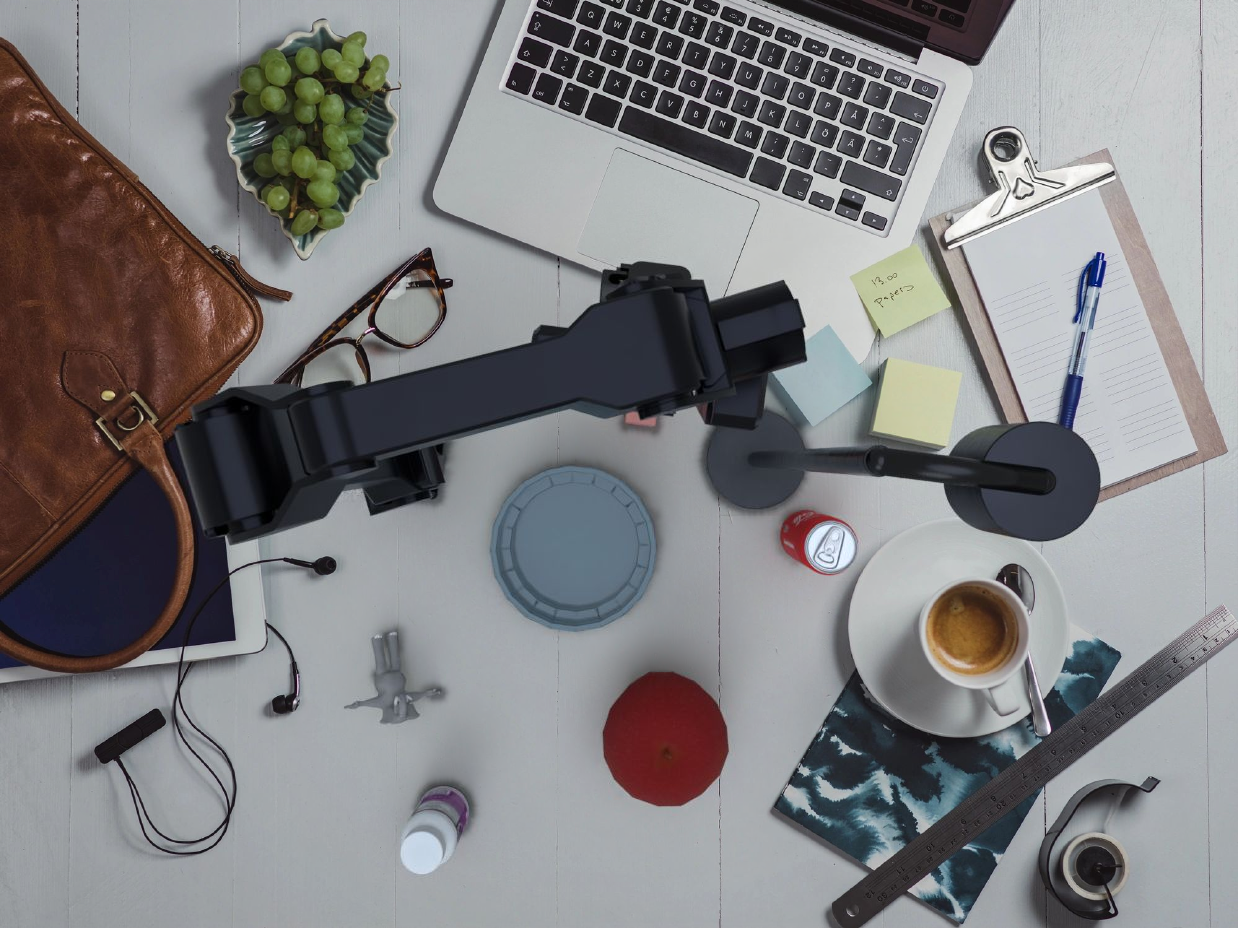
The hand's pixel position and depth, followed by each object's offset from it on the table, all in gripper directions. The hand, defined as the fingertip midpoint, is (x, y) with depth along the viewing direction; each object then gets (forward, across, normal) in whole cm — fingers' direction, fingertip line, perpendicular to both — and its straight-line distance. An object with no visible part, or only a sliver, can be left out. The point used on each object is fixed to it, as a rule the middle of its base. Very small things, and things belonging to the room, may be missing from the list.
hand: (645, 387), depth 75 cm
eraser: (+11, 0, 0) cm, 11 cm away
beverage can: (+11, -18, +12) cm, 24 cm away
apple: (+11, -6, +32) cm, 34 cm away
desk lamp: (+11, -15, +5) cm, 19 cm away
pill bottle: (+11, +15, +45) cm, 49 cm away
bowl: (+11, +5, +16) cm, 20 cm away
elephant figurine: (+11, +22, +32) cm, 40 cm away
